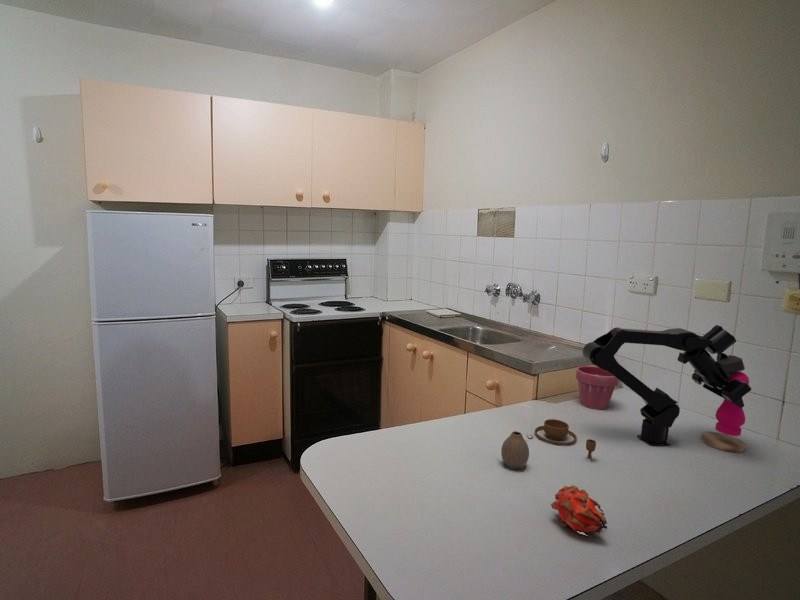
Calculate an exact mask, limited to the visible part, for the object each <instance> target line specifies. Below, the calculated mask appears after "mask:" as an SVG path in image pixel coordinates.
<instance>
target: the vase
mask: <svg viewBox="0 0 800 600" xmlns="http://www.w3.org/2000/svg"><path fill="white" fill-rule="evenodd" d="M500 451H501V452H500V454H501V455H500V456H501V459H502V462H503V463H504V464H505V466H507V467H508V468H509V467H510V468H509V469H512V468H514V469H513V470H519V469H521V468H523V467H525V466H526V465H527V463H528V460H529V459H530V448H529V445H528V443H527V442H526V440H525V438H524V437H523V434H522V432H520V431H516V430H515V431H512V432H511V433H510V434H509V436H508V437H506V438H505V440H504V441H503V443H502V446H501V450H500Z"/></svg>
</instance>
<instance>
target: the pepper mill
mask: <svg viewBox="0 0 800 600" xmlns="http://www.w3.org/2000/svg"><path fill="white" fill-rule="evenodd" d="M731 375H732V377H730V378H727V380H729V381H733V380H734V379H737V380H741V381H743V382H746V383H748V385H749V386H750V379H749V377H748V375H747V374H746V373H744V372H742V371H741V370H740V371H737V372H734V373H731ZM715 418H716V421H718V422H716V423H715V428H714V429H715V430H716V432H718V433H722V434H727V435H730V436H733V437H739V436H741V435H742V428H741V427H742V426H743V425H745V423H746V415H745V411H744V409H743V407H742V408H741V407H739V406H737V405H735V404H733V403H732V402H730V401H728V400H726V399H724V398H723V402H722V403H721V404H720V405H719V407H718V408H717V410H716V413H715Z"/></svg>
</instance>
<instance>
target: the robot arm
mask: <svg viewBox="0 0 800 600" xmlns="http://www.w3.org/2000/svg"><path fill="white" fill-rule="evenodd" d="M735 343H737V339H736V337H735V336H734V335H733V334H731V333H729V331H727V330H726V329H724V328H723V327H722V326H721V325H718V324H715V325H714V326H713V327H711V329H710V330H709V331H707V332H706V333H705V334H703V335H698V334H697V333H695V332H693V331H690V330H687V329H684V328H682V327H678V328H667V329H666V330H647V329H632V328H622V327H618V326H617V327H614V328H612V329H611V330H609V331H608V332H606V333H604V334H602V335H601V336H599V337H597V338H595V340H593V341H590V342H588V343H586V344H585V345H584V347H583V349H582V356H583V358H585V359H586V360H587V361H588V362H590V363H591V364H592V365H593V366H597V367H599V368H601V369H603V370H605V371H607V372H609V373H611V374H612V375H614V376H615V377H616V378H617V379H619V381H620V382H621V383H622V384H624V385H625V386H626V387H627V388H629V390H631V391H633V392H634V393H635V394H636V395H637V396H639V397H640V398H641V399H642V400H643V402H644V403H645V405H643V406H642V407H641V408H640V409H639V411H640V415H641V416H642V417H643V419H642V422H641V423H642V424H641V430H640V431H641V432H640V434H637V435H636V437H637V438H639V439H640V440H642V442H645V443H646V444H647V445H649V446H657V447H658V446H670V445H671V443H670V442H668V439H669V431H670V428H671V427H672V426H673V424H674V422H675V421H676V419H677V418H678V417H679V415H680V411H681V408H680V406H679V405H678V403H679V402H678V401H677V400H675V399H673V398H672V397H671V396H670V395H669V394H668V393H666V392H665V391H663V390H661V389H660V388H658V387H656V388H655V389H654V390H653V389H651V388H650V387H649V386H648V385H646V384H645V383H644V382H643V381H642V380H640V379H639V378H637V377H636V376H635V375H634V374H632V372H630V371H628V370H627V369H626V368H625V367H624V366H622V365H621V364H620V363H619V362H618V360H617V359H616V358H615V357H614V356H615V355H616V354H617V353H618V351H619V350H620V349H621V347H622V346H623V345H624V344H635V345H636V344H637V345H638V344H640V345H651V346H663V347H664V346H665V347H668V348H670V349H675V350H679V351H681V352H679V353H678V357H677V361H678V362H679V363H682V364H683V365H686V364H687V363H689V365H690V366H691V367H692V368H693V369H694V370H693V373H692V374H691V380H693V382H694V383H695V384H697V385H699V386H702V388H704V389H706V390H708V391H710V393H711V392H712V393H713V394H715V395H717V396H718V397H721V398H722V399H723V400H724V399H726V400H728V401H730V402H732V403H733V404H735V405H737V406H739V407H741V408H742V409H743V408H744V407H745V404H744V400H743V397H745V395H747V394H748V393H749V392H751V391H752V387H751V386H750V384H749V385H748V383H746V382H743V381H741V380H737V379H734V380H733V381H729V380H727V378H730V377H732V375H731V373H734V372H737V371H740V370H741V372H742V371H744V370H745V369H746V368H745V364H744V360H743V358H742V357H739V356H737V355H731V354H727V353H724V352H725V351H726V350H728V349H729V348H730V347H731V346H733V345H735ZM682 351H683V352H682ZM715 354H716V360H715V359H714V357H713V356H712V355H715Z"/></svg>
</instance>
